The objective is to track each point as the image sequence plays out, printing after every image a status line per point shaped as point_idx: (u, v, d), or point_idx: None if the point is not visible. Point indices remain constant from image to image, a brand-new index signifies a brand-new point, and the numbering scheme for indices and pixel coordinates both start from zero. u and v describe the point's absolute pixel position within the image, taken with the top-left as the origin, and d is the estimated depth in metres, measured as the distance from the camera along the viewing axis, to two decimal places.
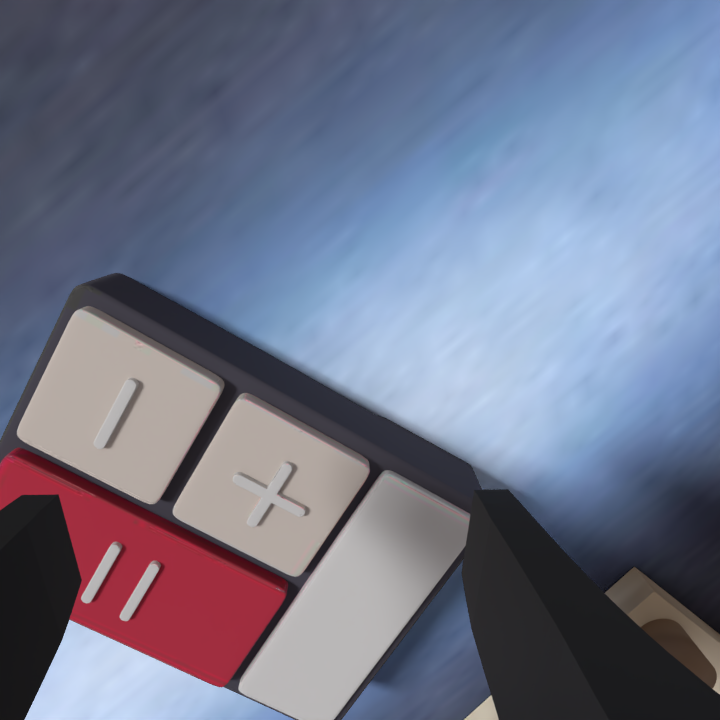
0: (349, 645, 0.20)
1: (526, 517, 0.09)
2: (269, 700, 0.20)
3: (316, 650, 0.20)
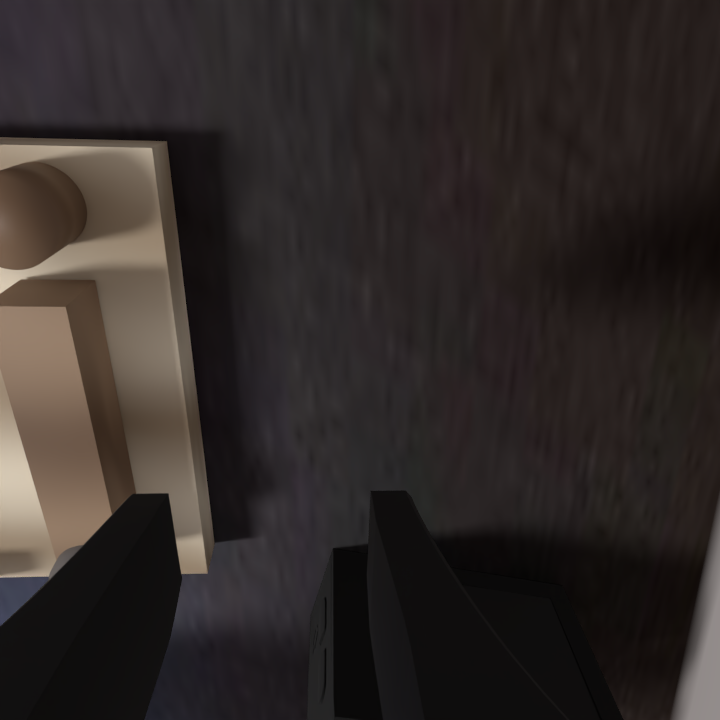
0: None
1: (412, 518, 0.09)
2: None
3: None
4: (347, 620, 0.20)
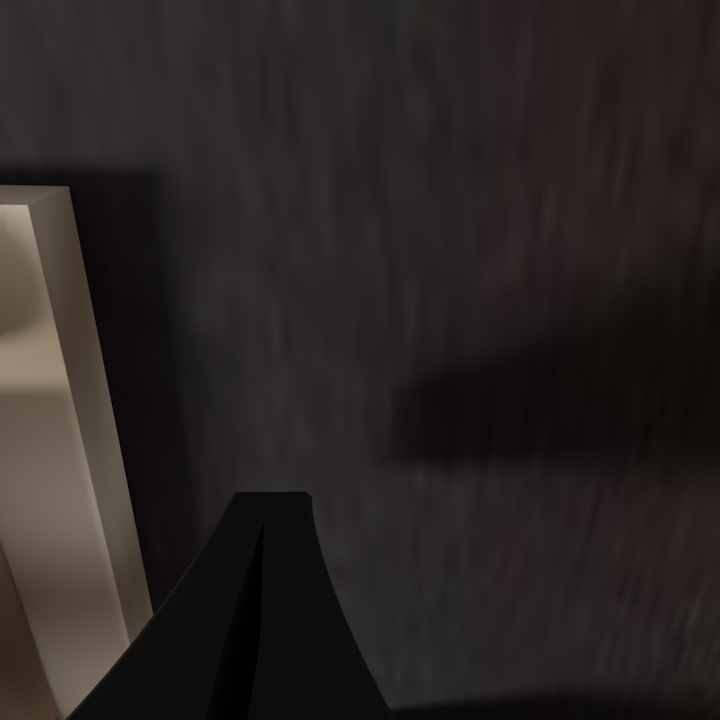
0: None
1: (302, 519, 0.09)
2: None
3: None
4: None
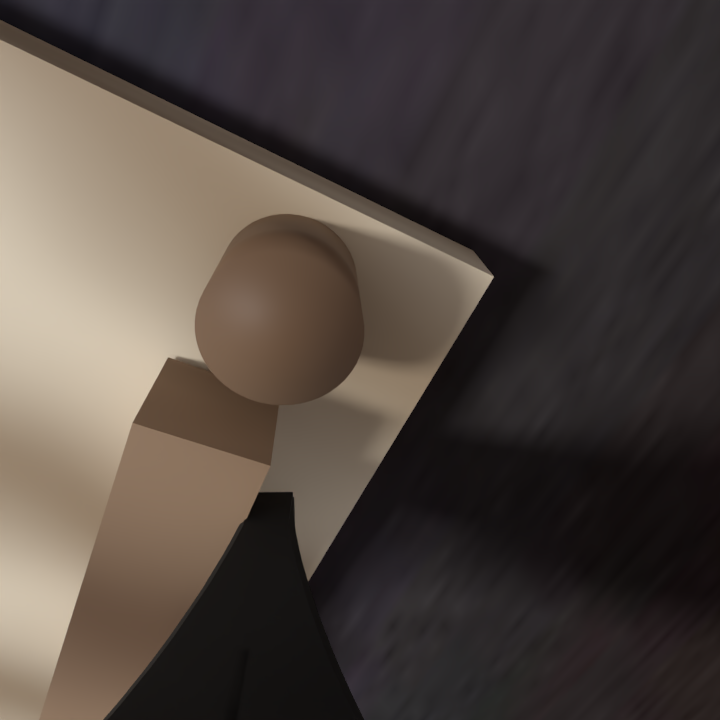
0: None
1: (281, 520, 0.09)
2: None
3: None
4: None
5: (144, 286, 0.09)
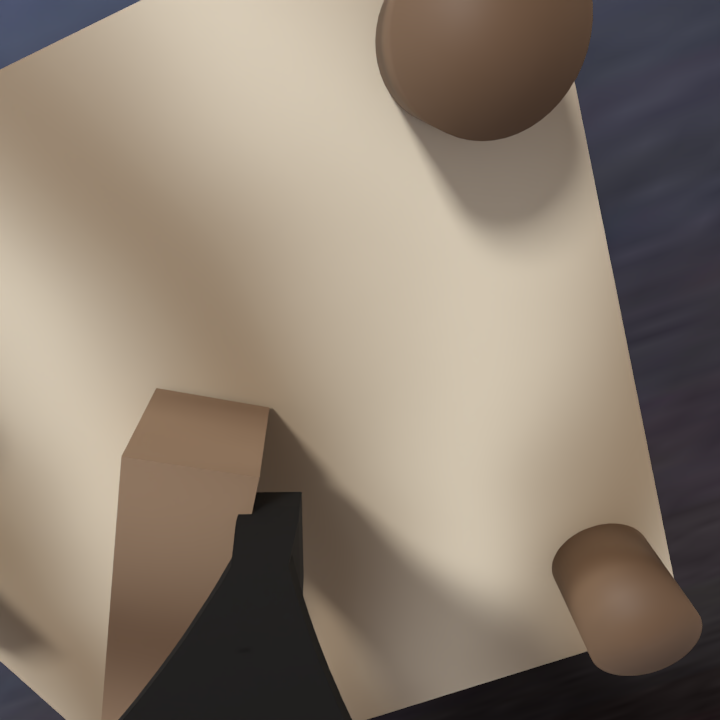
0: None
1: (274, 520, 0.09)
2: None
3: None
4: None
5: (534, 511, 0.12)
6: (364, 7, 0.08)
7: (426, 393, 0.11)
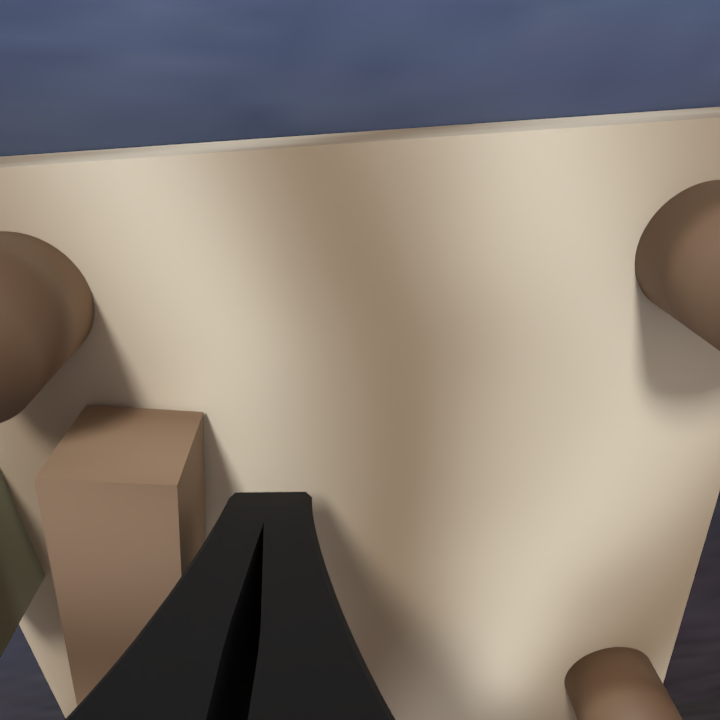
0: None
1: (301, 519, 0.09)
2: None
3: None
4: None
5: (576, 623, 0.13)
6: (650, 201, 0.09)
7: (541, 507, 0.12)
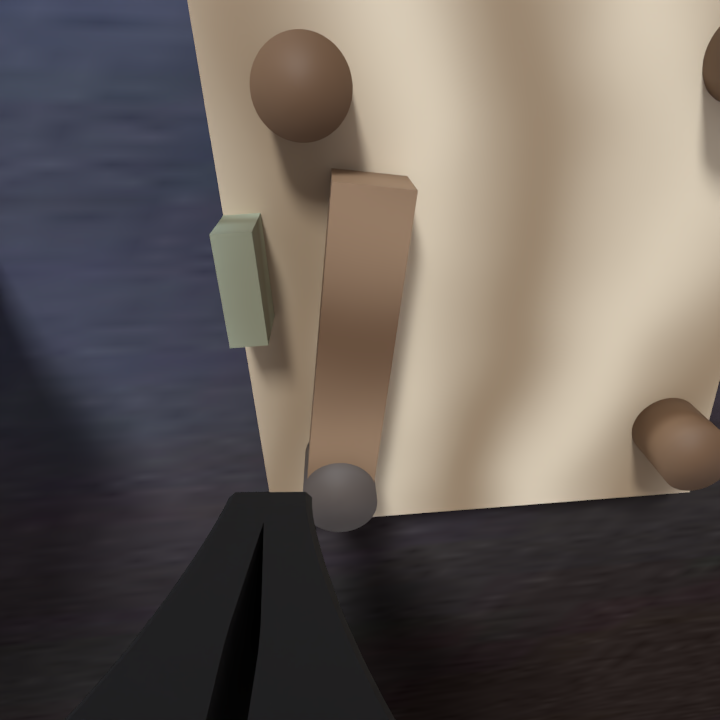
0: None
1: (301, 519, 0.09)
2: None
3: None
4: None
5: (644, 374, 0.18)
6: (714, 20, 0.14)
7: (626, 266, 0.17)
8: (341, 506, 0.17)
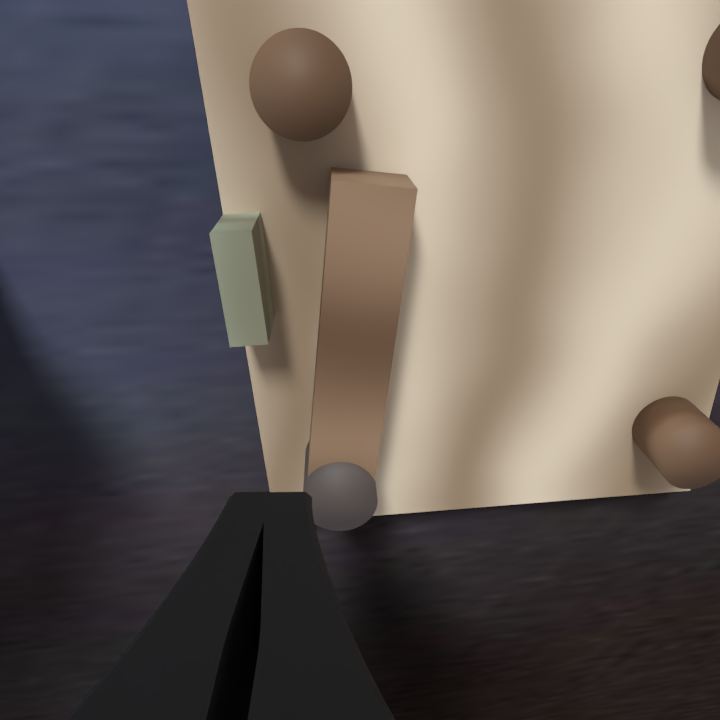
0: None
1: (301, 519, 0.09)
2: None
3: None
4: None
5: (644, 373, 0.18)
6: (714, 18, 0.14)
7: (626, 264, 0.17)
8: (341, 505, 0.17)
